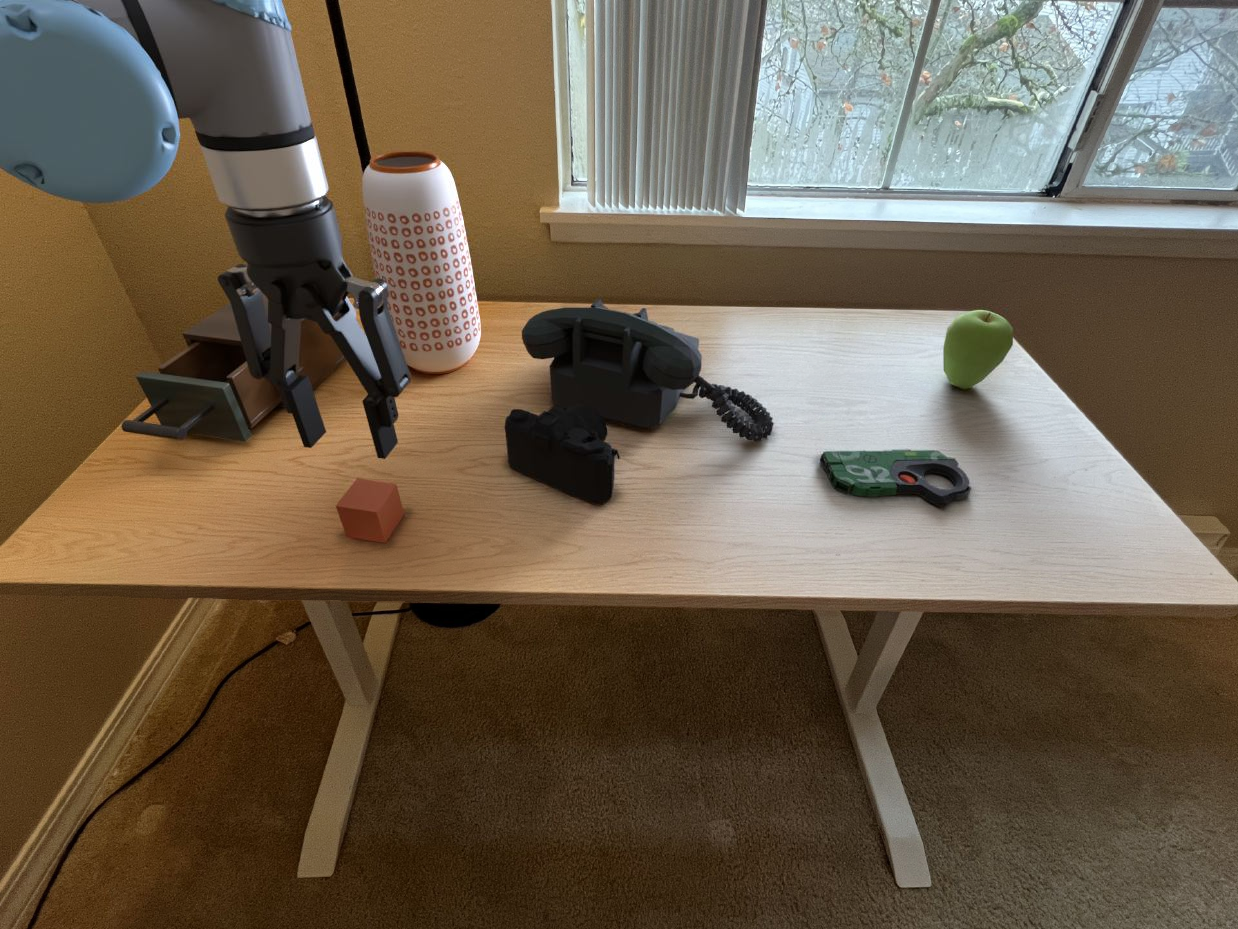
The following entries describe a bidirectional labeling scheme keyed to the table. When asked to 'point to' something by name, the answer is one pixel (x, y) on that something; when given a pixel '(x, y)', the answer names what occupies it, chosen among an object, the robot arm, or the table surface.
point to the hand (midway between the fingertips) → (351, 444)
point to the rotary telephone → (630, 368)
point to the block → (370, 510)
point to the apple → (975, 347)
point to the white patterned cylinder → (422, 258)
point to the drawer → (204, 395)
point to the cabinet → (315, 345)
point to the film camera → (563, 450)
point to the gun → (894, 473)
